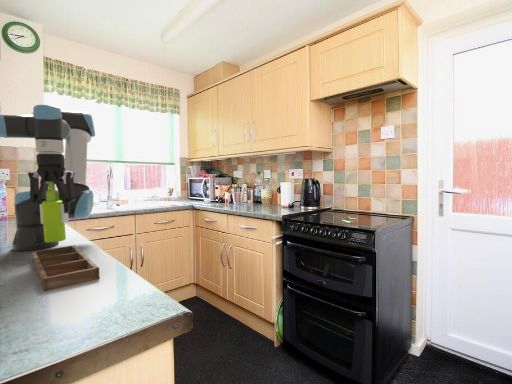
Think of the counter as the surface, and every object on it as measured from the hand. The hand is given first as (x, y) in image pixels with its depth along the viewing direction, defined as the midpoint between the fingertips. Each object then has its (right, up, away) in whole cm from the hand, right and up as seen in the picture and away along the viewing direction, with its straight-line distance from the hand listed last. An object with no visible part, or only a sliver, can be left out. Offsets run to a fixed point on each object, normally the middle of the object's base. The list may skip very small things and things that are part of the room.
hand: (55, 222), depth 98 cm
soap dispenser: (0, -6, +1) cm, 6 cm away
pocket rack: (+8, -13, -8) cm, 18 cm away
